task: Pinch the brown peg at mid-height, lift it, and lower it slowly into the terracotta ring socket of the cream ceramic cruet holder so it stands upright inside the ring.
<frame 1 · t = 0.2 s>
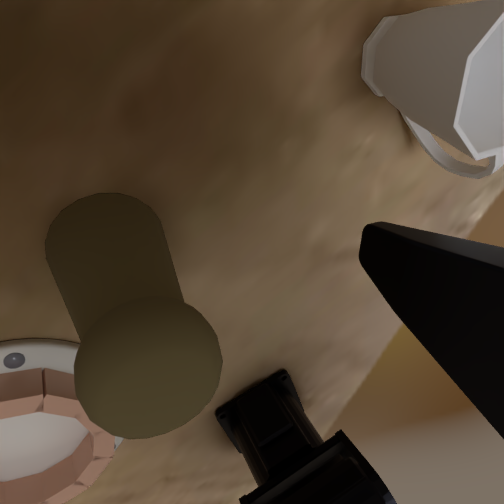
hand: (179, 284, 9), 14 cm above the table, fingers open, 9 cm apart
cup: (394, 79, 26), on the table
brown peg: (107, 244, 23), on the table
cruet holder: (20, 424, 26), on the table
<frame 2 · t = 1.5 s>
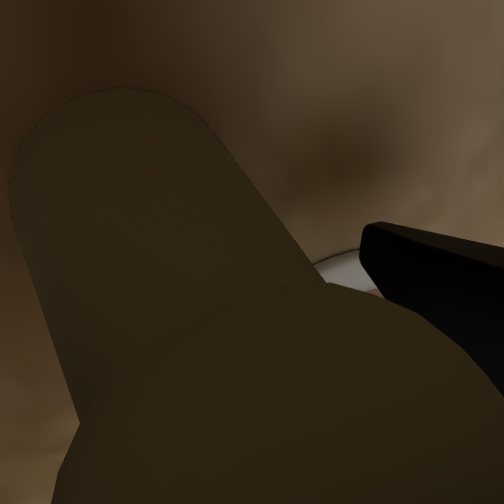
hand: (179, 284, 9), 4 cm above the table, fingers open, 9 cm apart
brown peg: (130, 198, 12), on the table
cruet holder: (332, 371, 20), on the table
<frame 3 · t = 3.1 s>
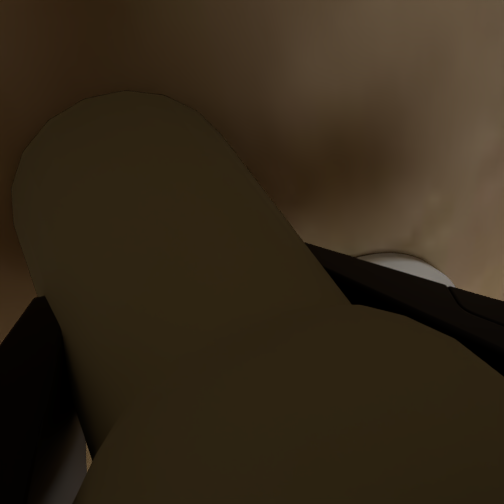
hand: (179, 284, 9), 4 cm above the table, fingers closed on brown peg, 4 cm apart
brown peg: (135, 204, 12), on the table, touching gripper
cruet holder: (338, 377, 20), on the table
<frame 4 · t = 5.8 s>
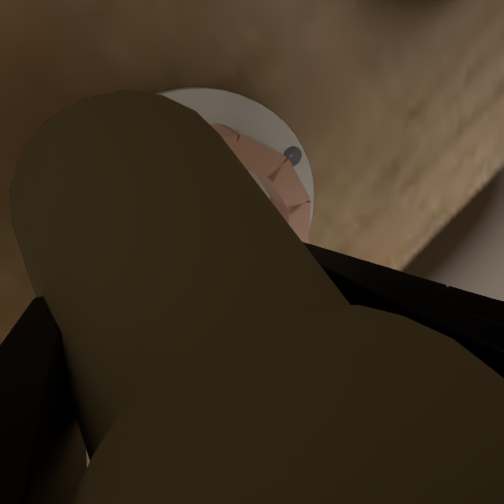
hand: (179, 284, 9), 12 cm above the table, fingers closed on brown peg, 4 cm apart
brown peg: (134, 204, 12), point 8 cm above the table, touching gripper
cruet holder: (195, 222, 22), on the table
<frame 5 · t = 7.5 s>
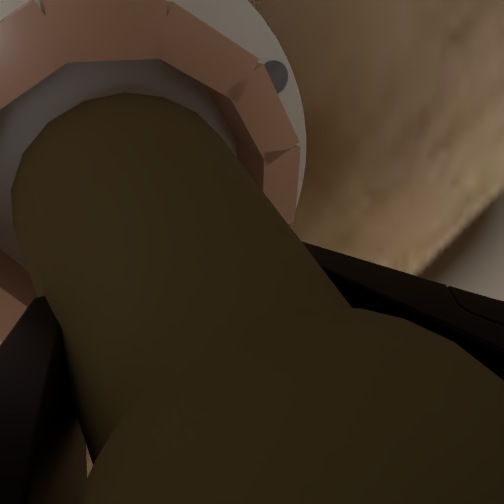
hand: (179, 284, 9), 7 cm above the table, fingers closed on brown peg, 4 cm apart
brown peg: (135, 205, 12), point 2 cm above the table, touching gripper
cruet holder: (117, 179, 14), on the table
when the fingers open (6 cm above the table, at t = 8.8 s): brown peg stays where it is, resting on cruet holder.
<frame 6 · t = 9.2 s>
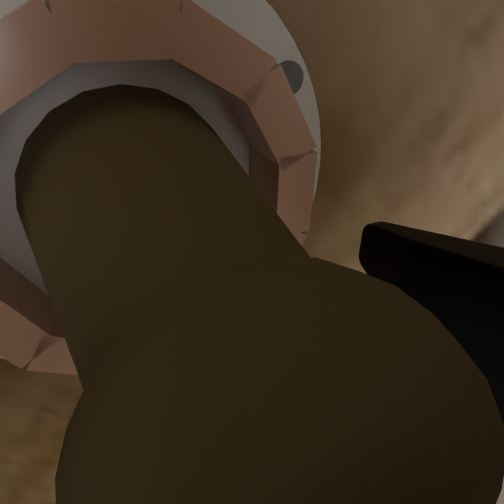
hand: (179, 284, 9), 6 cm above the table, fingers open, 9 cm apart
brown peg: (130, 191, 13), point 1 cm above the table, touching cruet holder
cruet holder: (124, 184, 13), on the table
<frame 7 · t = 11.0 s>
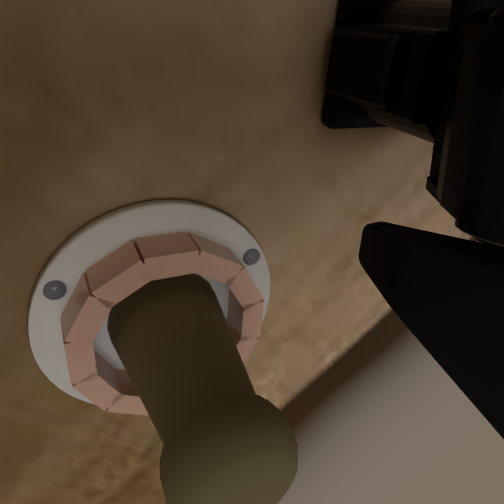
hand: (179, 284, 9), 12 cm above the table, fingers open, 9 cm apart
brown peg: (163, 314, 24), point 1 cm above the table, touching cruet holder
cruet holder: (159, 308, 24), on the table
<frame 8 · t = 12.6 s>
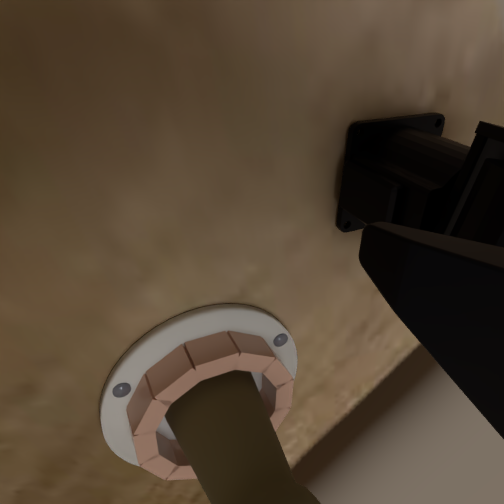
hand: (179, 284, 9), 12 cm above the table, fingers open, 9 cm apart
brown peg: (208, 393, 28), point 1 cm above the table, touching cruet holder
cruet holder: (204, 387, 28), on the table
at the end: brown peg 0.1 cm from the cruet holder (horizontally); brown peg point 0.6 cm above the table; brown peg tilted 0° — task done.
